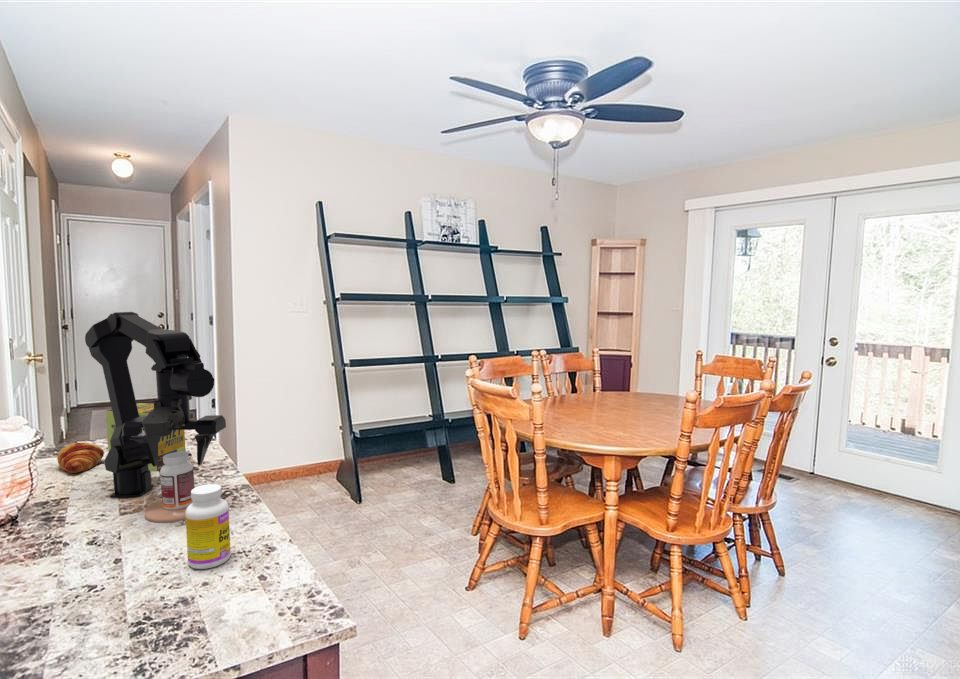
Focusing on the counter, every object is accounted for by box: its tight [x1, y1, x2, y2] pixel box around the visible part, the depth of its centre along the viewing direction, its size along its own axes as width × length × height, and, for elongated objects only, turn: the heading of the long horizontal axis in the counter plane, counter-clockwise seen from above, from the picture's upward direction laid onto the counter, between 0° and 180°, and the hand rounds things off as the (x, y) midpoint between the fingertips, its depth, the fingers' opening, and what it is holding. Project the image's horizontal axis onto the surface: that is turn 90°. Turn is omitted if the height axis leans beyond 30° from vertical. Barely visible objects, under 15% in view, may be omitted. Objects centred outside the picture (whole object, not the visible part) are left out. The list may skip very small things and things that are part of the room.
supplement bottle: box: [185, 483, 232, 570], centre depth 93 cm, size 7×7×13 cm
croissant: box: [56, 441, 105, 474], centre depth 146 cm, size 21×10×8 cm, turn 32°
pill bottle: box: [159, 451, 196, 510], centre depth 115 cm, size 6×6×11 cm
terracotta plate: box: [143, 499, 187, 524], centre depth 116 cm, size 13×13×1 cm
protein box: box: [105, 402, 187, 472], centre depth 146 cm, size 10×15×16 cm
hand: (177, 465), depth 115 cm, fingers open, 9 cm apart
